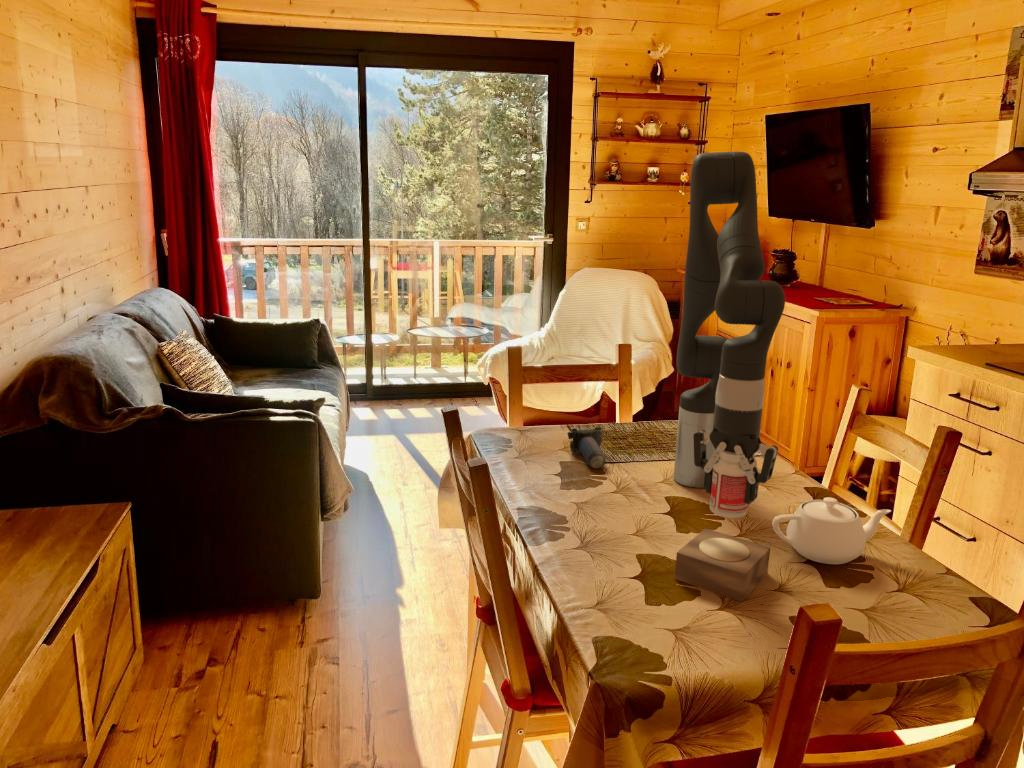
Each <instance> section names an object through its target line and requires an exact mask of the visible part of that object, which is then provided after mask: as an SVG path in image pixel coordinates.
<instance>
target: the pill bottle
mask: <svg viewBox="0 0 1024 768" xmlns="http://www.w3.org/2000/svg"><path fill="white" fill-rule="evenodd" d="M742 459H743V458H742ZM747 483H748V479H747V476H746V472H745V471H743V469H742V467H741V464H740V456H739V455H736V453H733V452H729V451H724V452H722V451H721V454H720V460H718V461H717V462H716V463H715V464H714V466H713V476H712V487H711V494H710V496H709V497H710V500H709V510H710V511H711V512H712V513H713V514H715V515H716V516H718V517H722V518H726V519H739V518H743V517H744V516H745V515H746V514H747V513H748V507H749V506H748V505H749V504H747V503H745V496H746V487H747Z"/></svg>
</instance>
